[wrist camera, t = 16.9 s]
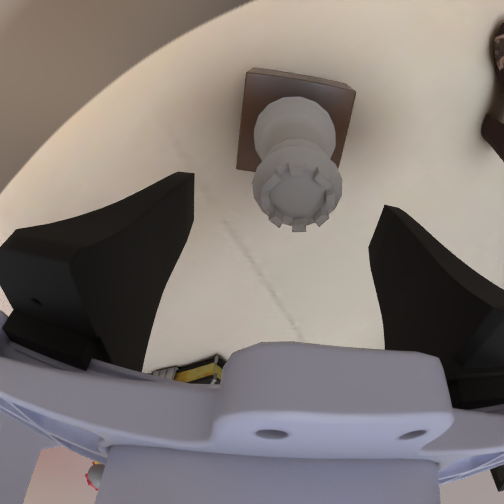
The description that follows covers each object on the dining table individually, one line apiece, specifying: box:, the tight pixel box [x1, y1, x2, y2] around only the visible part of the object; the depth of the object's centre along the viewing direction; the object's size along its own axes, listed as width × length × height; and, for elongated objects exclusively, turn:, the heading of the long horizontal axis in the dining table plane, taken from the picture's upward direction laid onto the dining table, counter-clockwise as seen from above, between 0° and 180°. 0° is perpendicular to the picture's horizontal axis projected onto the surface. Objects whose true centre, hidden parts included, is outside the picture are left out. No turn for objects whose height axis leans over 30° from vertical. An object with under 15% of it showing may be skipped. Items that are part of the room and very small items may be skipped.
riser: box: [236, 68, 356, 172], centre depth 18 cm, size 6×6×3 cm
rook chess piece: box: [252, 97, 342, 232], centre depth 13 cm, size 4×4×8 cm
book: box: [153, 355, 225, 385], centre depth 42 cm, size 22×17×5 cm
